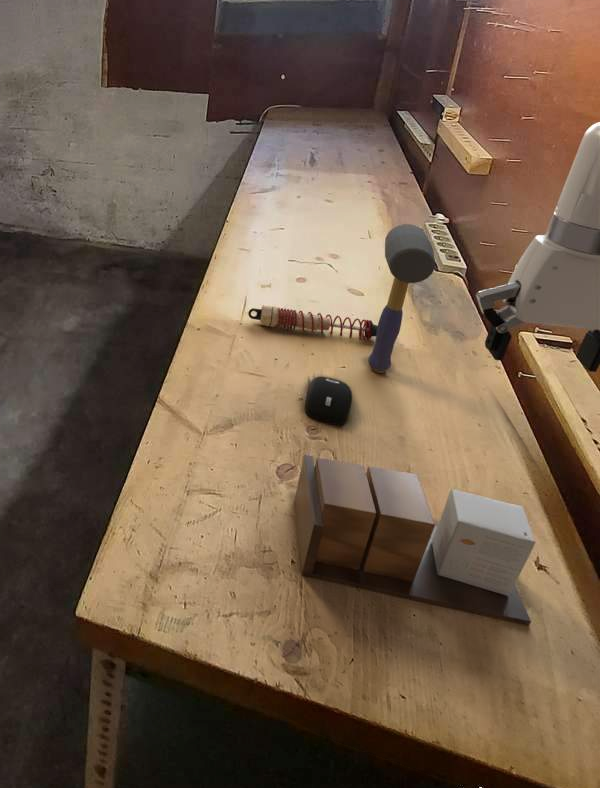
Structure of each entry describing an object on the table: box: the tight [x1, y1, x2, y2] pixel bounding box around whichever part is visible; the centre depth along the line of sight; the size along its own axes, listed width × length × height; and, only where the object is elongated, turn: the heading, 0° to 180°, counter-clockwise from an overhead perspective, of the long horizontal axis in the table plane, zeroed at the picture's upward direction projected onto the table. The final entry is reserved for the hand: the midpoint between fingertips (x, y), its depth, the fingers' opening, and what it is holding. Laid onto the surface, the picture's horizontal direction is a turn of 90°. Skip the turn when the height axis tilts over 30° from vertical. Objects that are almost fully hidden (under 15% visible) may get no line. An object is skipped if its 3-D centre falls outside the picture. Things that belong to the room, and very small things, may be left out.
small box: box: [432, 488, 536, 596], centre depth 72 cm, size 8×6×10 cm
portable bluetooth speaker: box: [304, 376, 353, 426], centre depth 104 cm, size 8×12×4 cm, turn 150°
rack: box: [293, 454, 532, 626], centre depth 74 cm, size 26×12×12 cm, turn 74°
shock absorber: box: [247, 304, 378, 341], centre depth 125 cm, size 5×5×30 cm
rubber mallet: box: [367, 223, 436, 374], centre depth 107 cm, size 12×8×30 cm, turn 156°
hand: (538, 359), depth 70 cm, fingers open, 9 cm apart
